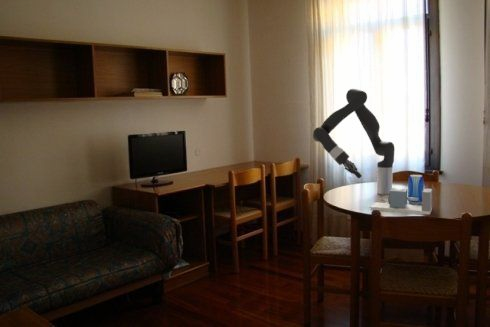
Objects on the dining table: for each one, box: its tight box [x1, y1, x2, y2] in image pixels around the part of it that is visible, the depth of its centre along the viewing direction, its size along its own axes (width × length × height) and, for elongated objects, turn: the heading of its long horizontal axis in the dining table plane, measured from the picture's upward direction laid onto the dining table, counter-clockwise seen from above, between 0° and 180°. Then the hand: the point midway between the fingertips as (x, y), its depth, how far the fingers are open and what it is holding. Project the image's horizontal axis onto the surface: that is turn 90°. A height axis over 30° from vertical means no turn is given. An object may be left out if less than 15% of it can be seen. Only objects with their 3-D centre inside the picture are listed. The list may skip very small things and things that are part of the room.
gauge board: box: [370, 187, 433, 215], centre depth 247 cm, size 12×30×12 cm, turn 63°
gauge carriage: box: [388, 187, 418, 208], centre depth 246 cm, size 10×15×9 cm, turn 63°
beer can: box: [407, 174, 425, 205], centre depth 261 cm, size 8×8×16 cm
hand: (360, 177), depth 256 cm, fingers closed
